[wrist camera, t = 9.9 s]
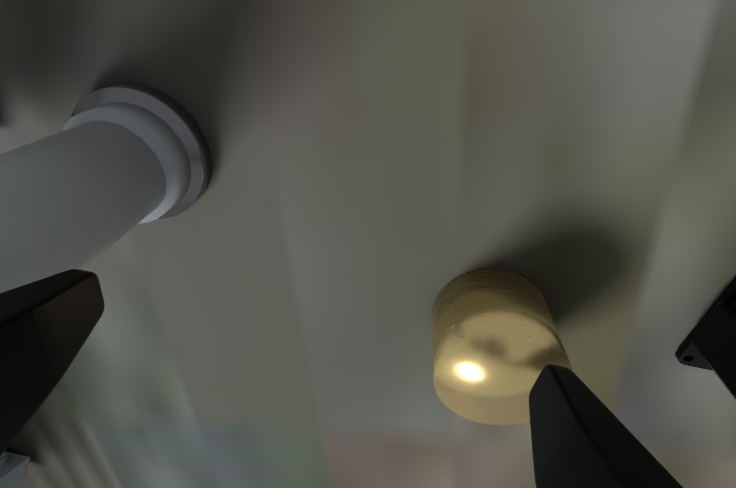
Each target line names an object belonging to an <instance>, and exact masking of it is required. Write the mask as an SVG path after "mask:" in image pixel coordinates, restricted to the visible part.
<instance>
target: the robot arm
mask: <svg viewBox="0 0 736 488" xmlns="http://www.w3.org/2000/svg"><path fill="white" fill-rule="evenodd" d="M103 311H104V300H103V296H102V291H101V287H100V283H99V279H98V277H97V275H96V274H95V273H93V272H90V271H85V270H80V269H70V270H67V271H64V272H61V273H58V274H55V275H52V276H49V277H46V278H43V279H40V280H37V281H35V282H32V283H29V284H26V285H23V286H20V287H17V288H14V289H11V290H8V291H5V292H2V293H0V456H1V455H2V454H3V453H4V451H5V450H6V449H7V448H8V446H9V445H10V444H11V442H12V441H13V440H14V439H15V437H16V436H17V435H18V434H19V432H20V431H21V430H22V429H23V427H24V426H25V425H26V423H27V422H28V421H29V420H30V418H31V417H32V416H33V415H34V413H35V412H36V411H37V409H38V408H39V407H40V406H41V404H42V403H43V402H44V401H45V399H46V398H47V397H48V396H49V394H50V393H51V392H52V390H53V389H54V388H55V386H56V385H57V384H58V382H59V381H60V379H61V378H62V376H63V375H64V373H65V372H66V371H67V369H68V367H69V366H70V364H71V363H72V361H73V360H74V358H75V356H76V355H77V353H78V352H79V350H80V349H81V347H82V346H83V344H84V342H85V341H86V339H87V338H88V336H89V335H90V333H91V331H92V330H93V328H94V327H95V325H96V324H97V322H98V321H99V319H100V317H101V316H102V313H103ZM675 356H676V358H677V359H678V361H679V362H680V363H681V364H684V365H688V366H693V367H698V368H703V369H708V370H713V371H714V372H715V373H716V375H717V376H718V377H719V378H720V380H721V381H722V382H723V384H724V385H725V386H726V388H727V389H728V390H729V391H730V393H731V394H732V395H733V397H734V398H735V399H736V277H735V279H734V280H733V281H732V282H731V284H730V285H729V286H728V287H727V289H726V290H725V291H724V292H723V294H722V295H721V296H720V297H719V299H718V300H717V301H716V302H715V304H714V305H713V306H712V307H711V309H710V310H709V311H708V312H707V314H706V315H705V316H704V317H703V319H702V320H701V321H700V322H699V324H698V325H697V326H696V327H695V329H694V330H693V331H692V332H691V334H690V335H689V336H688V337H687V339H686V340H685V341H684V342H683V344H682V345H681V346H680V347H679V349H678V350H677V351H676V353H675ZM529 413H530V425H531V438H532V451H533V463H534V473H535V482H536V488H683V487H682V486H681V485H680V484H679V483H678V482H677V481H676V480H675V479H674V478H673V477H672V476H671V474H670V473H669V472H668V471H667V470H666V469H665V468H664V467H663V466H662V465H661V464H660V463H659V462H658V461H657V460H656V459H655V458H654V457H653V456H652V454H651V453H650V452H649V451H648V450H647V449H646V448H645V447H644V446H643V445H642V444H641V443H640V442H639V441H638V440H637V439H636V438H635V437H634V436H633V434H632V433H631V432H630V431H629V430H628V429H627V428H626V427H625V426H624V425H623V424H622V423H621V422H620V421H619V420H618V419H617V418H616V417H615V416H614V414H613V413H612V412H611V411H610V410H609V409H608V408H607V407H606V406H605V405H604V404H603V403H602V402H601V401H600V400H599V399H598V398H597V397H596V395H595V394H594V393H593V392H592V391H591V390H590V389H589V388H588V387H587V386H586V385H585V384H584V383H583V382H582V381H581V380H580V379H579V378H578V377H577V375H576V374H575V373H574V372H573V371H572V370H570V369H569V368H567V367H563V366H558V365H553V364H547V365H546V366H544V368H543V369H542V371H541V373H540V374H539V376H538V378H537V380H536V381H535V383H534V385H533V387H532V388H531V391H530V394H529Z"/></svg>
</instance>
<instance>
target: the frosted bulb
mask: <svg viewBox="0 0 736 488" xmlns="http://www.w3.org/2000/svg"><path fill="white" fill-rule="evenodd" d="M190 182H191V165H190V160H189V157H188V154H187V151H186V149H185V147H184V145H183V143H182V142H181V140H180V138H179V137H178V136H177V134H176V133H175V132H174V130H173V129H172V128H171V127H170V126H169V125H168V124H167V123H166V122H165V121H164V120H162V119H161V118H160V117H158V116H157V115H156V114H154V113H152V112H151V111H149V110H147V109H145V108H143V107H140V106H137V105H134V104H130V103H123V102H113V103H108V104H105V105H102V106H99V107H96V108H93V109H90V110H87V111H85V112H82V113H79V114H77V115H75V116H73V117H72V118H70V119H69V120H68V121H67V122H66V123H65V124H64V126H63V127H62V129H61V132H59V133H56V134H54V135H51V136H48V137H46V138H43V139H41V140H38V141H35V142H33V143H30V144H27V145H25V146H22V147H20V148H17V149H14V150H12V151H9V152H7V153H4V154H1V155H0V293H2V292H5V291H8V290H11V289H14V288H17V287H20V286H23V285H26V284H29V283H32V282H35V281H37V280H40V279H43V278H46V277H49V276H52V275H55V274H58V273H61V272H64V271H67V270H70V269H80V270H81V269H82V268H83V267H85V266H86V265H87V264H88V263H89V262H91V261H92V260H93V259H94V258H96V257H97V256H98V255H99V254H101V253H102V252H103V251H104V250H106V249H107V248H108V247H109V246H111V245H112V244H113V243H114V242H116V241H117V240H118V239H119V238H121V237H122V236H123V235H124V234H126V233H127V232H128V231H129V230H130V229H132V228H133V227H134V226H135V225H137V224H138V223H146V222H150V221H153V220H155V219H158V218H159V217H161V216H162V215H163V214H165V213H166V212H167V211H168V210H169V209H170V208H172V207H173V206H174V205H175V204H176V203H178V202H179V201H180V200H181V199H182V198H183V197H184V195H185V194H186V192H187V190H188V188H189V185H190Z"/></svg>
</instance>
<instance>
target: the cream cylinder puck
mask: <svg viewBox="0 0 736 488" xmlns="http://www.w3.org/2000/svg"><path fill="white" fill-rule="evenodd" d="M432 325H433V367H434V386H435V390H436V393H437V395H438V397H439V398H440V400H441V401H442V402H443V403H444V404H445V405H446V406H447V407H448V408H449V409H450V410H451V411H453V412H454V413H456V414H458V415H459V416H462V417H464V418H466V419H469V420H472V421H475V422H479V423H484V424H490V425H513V424H520V423H525V422H529V421H530V413H529V394H530V391H531V388H532V387H533V385H534V383H535V381H536V380H537V378H538V376H539V374H540V373H541V371H542V369H543V368H544V366H546V365H547V364H553V365H558V366H563V367H567V368H569V369H570V370H572V368H571V365H570V362H569V360H568V357H567V354H566V352H565V349H564V347H563V344H562V342H561V339H560V337H559V334H558V332H557V329H556V326H555V324H554V321H553V319H552V316H551V314H550V311H549V309H548V306H547V304H546V301H545V298H544V296H543V294H542V292H541V291H540V290H539V288H538V287H537V286H536V285H535V284H534V283H533V282H532V281H530V280H529V279H528V278H526V277H524V276H522V275H520V274H517V273H515V272H511V271H507V270H501V269H483V270H477V271H473V272H469V273H466V274H464V275H461V276H459V277H457V278H456V279H454V280H452V281H451V282H450V283H448V284H447V285H446V286H445V287H444V288H443V289H442V290H441V291H440V293H439V294H438V296H437V297H436V299H435V302H434V305H433V310H432Z"/></svg>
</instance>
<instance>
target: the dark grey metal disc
mask: <svg viewBox="0 0 736 488" xmlns="http://www.w3.org/2000/svg"><path fill="white" fill-rule="evenodd" d="M113 102H123V103H130V104H134V105H137V106H140V107H143V108H145V109H147V110H149V111H151V112H152V113H154V114H156V115H157V116H158V117H160V118H161V119H162V120H164V121H165V122H166V123H167V124H168V125H169V126H170V127H171V128H172V129H173V130H174V132H175V133H176V134H177V136H178V137H179V138H180V140H181V142H182V143H183V145H184V147H185V149H186V151H187V154H188V157H189V160H190V165H191V182H190V185H189V188H188V190H187V192H186V194H185V195H184V197H183V198H182V199H181V200H180V201H179V202H178V203H176V204H175V205H174V206H173V207H172V208H170V209H169V210H168V211H167V212H166V213H165V214H163V215H162V216H161V217H159V218H168V217H172V216H175V215H178V214H180V213H182V212H184V211H185V210H187V209H188V208H189V207H190V206H191V205H192V204H193V203H194V202H195V201H197V200H198V199H199V198H200V197H201V196H202V194H203V193H204V192H205V190H206V188H207V186H208V183H209V180H210V175H211V159H210V153H209V149H208V146H207V143H206V141H205V138H204V136H203V134H202V132H201V130H200V129H199V127H198V126H197V124H196V123H195V121H194V120H193V119H192V118H191V116H190V115H189V114H188V113H187V112H186V111H185V110H184V109H183V108H182V107H181V106H180V105H179V104H177V103H176V102H175V101H174V100H172V99H171V98H169V97H168V96H166V95H165V94H163V93H161V92H159V91H157V90H155V89H152V88H150V87H146V86H143V85H139V84H131V83H128V84H117V85H112V86H109V87H105V88H102V89H99V90H96V91H93V92H91V93H89V94H88V95H86V96H85V97H84V98H83V99H81V100H80V101H79V103H78V104H77V105H76V107H75V109H74V111H73V113H72V116H71V118H72V117H73V116H75V115H77V114H79V113H82V112H85V111H87V110H90V109H93V108H96V107H99V106H102V105H105V104H108V103H113Z"/></svg>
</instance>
